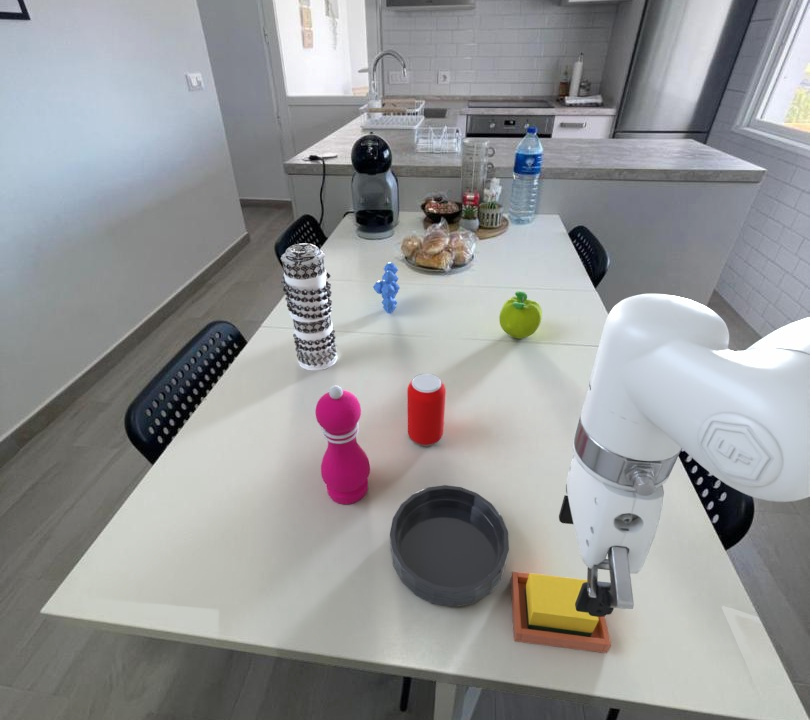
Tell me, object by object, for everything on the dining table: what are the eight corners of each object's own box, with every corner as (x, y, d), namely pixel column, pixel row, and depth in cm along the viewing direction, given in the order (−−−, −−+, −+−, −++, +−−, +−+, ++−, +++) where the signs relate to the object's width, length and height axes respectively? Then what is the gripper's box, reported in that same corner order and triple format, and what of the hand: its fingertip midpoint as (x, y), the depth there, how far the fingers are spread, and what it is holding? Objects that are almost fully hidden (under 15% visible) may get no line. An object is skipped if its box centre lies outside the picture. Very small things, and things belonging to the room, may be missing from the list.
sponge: (582, 597, 54) (590, 580, 52) (590, 637, 51) (599, 620, 48) (524, 590, 55) (529, 572, 53) (527, 628, 52) (533, 612, 49)
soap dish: (593, 589, 56) (597, 581, 55) (606, 653, 50) (611, 645, 49) (510, 579, 57) (512, 571, 56) (514, 641, 51) (516, 633, 50)
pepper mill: (365, 464, 72) (356, 365, 61) (376, 500, 67) (369, 398, 55) (320, 475, 71) (303, 375, 59) (328, 513, 65) (310, 411, 53)
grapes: (377, 297, 119) (375, 254, 112) (402, 298, 119) (401, 255, 112) (370, 319, 110) (368, 274, 103) (398, 320, 110) (397, 275, 103)
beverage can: (409, 450, 75) (409, 395, 68) (406, 424, 80) (405, 371, 73) (445, 447, 75) (448, 393, 68) (440, 422, 80) (442, 369, 73)
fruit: (493, 342, 101) (498, 303, 96) (501, 322, 108) (506, 284, 103) (534, 349, 99) (542, 310, 93) (540, 329, 106) (547, 291, 100)
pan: (529, 573, 57) (534, 555, 55) (427, 632, 52) (427, 616, 49) (463, 488, 68) (465, 470, 66) (372, 529, 63) (371, 512, 60)
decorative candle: (302, 346, 101) (284, 238, 86) (343, 347, 100) (331, 239, 85) (290, 370, 93) (268, 257, 79) (334, 372, 92) (320, 258, 78)
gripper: (721, 542, 29) (646, 659, 39) (640, 382, 43) (600, 497, 53) (601, 531, 30) (557, 648, 40) (559, 377, 44) (535, 491, 54)
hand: (581, 562), depth 46 cm, fingers open, 9 cm apart
